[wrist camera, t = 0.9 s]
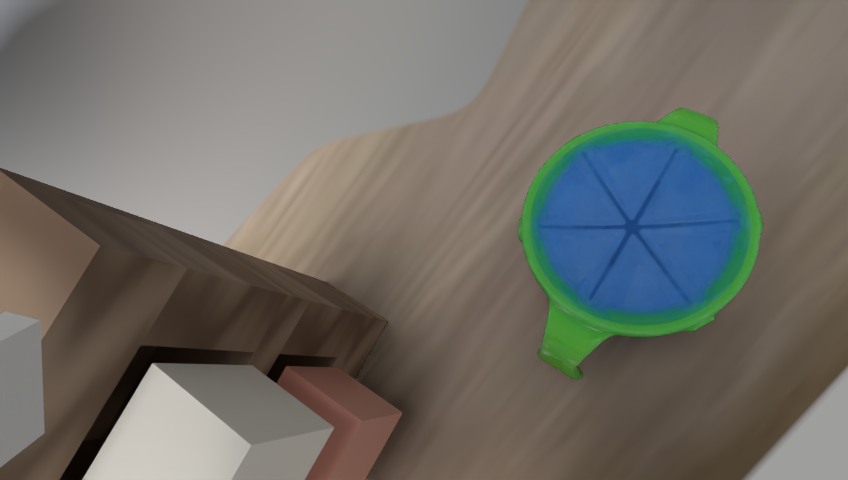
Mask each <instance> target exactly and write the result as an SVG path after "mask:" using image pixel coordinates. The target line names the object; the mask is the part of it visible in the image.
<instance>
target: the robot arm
mask: <svg viewBox="0 0 848 480" xmlns="http://www.w3.org/2000/svg"><path fill="white" fill-rule="evenodd" d="M44 433H45V430H44V403H43V376H42V349H41V323H40V320H37V319H33V318H29V317H25V316H21V315H17V314H13V313H9V312H3V313H1V314H0V467H2V466H3V465H4V464H5V463H7V462H8V461H9V460H11V459H12V458H13V457H14V456H16V455H17V454H18V453H20V452H21V451H22V450H23V449H25V448H26V447H27V446H29V445H30V444H31V443H32V442H34V441H35V440H36V439H38V438H39V437H40V436H41V435H43V434H44Z"/></svg>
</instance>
